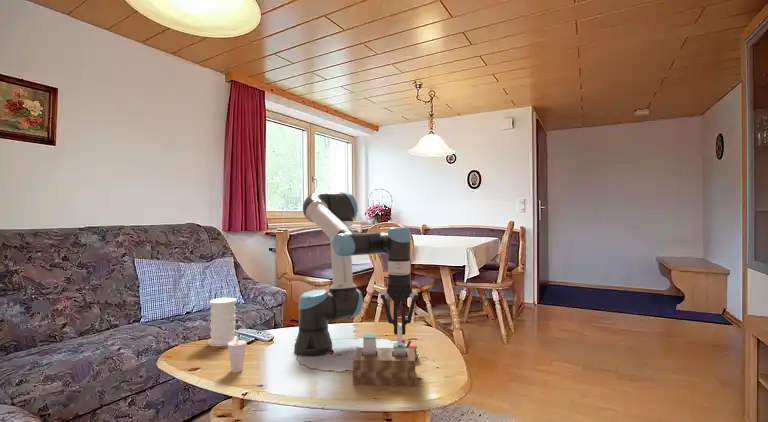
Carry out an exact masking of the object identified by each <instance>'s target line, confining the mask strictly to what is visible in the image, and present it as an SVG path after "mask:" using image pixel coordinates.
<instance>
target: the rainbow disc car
mask: <svg viewBox="0 0 768 422" xmlns="http://www.w3.org/2000/svg"><path fill="white" fill-rule="evenodd" d="M402 343H405V344H406V348H414V353H415V359H416V358H417V357H418V353H417V349H418V347H417V345H411V343H412V340H408V342H407V343H406V341H405V339H403V338H402Z"/></svg>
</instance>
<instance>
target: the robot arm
mask: <svg viewBox="0 0 768 422" xmlns="http://www.w3.org/2000/svg"><path fill="white" fill-rule="evenodd" d="M358 212H359V211H358V202H357V200H356V198H355V196H353V194H351V193H349V192H343V191H338V192H337V191H336V192H335V191H316V192H313V193H310V194H309V195H308V196H307V197H306V198H305V200H304V202H303V204H302V213H303V215H304V217H305V218H306V220H307V221H309V222H310V223H314V224H315V225H316V226H317V227H318V228H319V229H320V230H321V231H322V232H323V233H325V235H326V236H327V237H328V238H329V239H330V254H331V255H330V258H331V260H330V261H331V274H332V275H331V276H332V277H331V280H332V283H331V285H330V286H329V289H328V290H329V291H328V290H327V289H323V288H322V289H312V290H308V291H305V292H303V293H302V294H301V295H299V298H298V306H297V308H298V333H297V336H296V340H295V343H294V346H293V347H294V350H293V352H294V353H295V354H297V355H299V356H306V357H313V356H314V357H315V356H316V357H317V356H321V355H325V354H328V353H330V352H331V351H332V350H333V342H332V338H331V334H330V332H329V322H334V321H340V320H349V319H352V318H357V317H359V315H360V313H362V310H363V305H364V297H363V295H362V291H361V290H360V289H358V288H357V287H358V286H357V284H355V283H354V279H353V263H352V261H353V260H352V257H354V256H365V255H378V254H379V255H381V254H382V255H387V272H388V275H387V285H388V286H387V288H386V291H385V292H383V293H381V294H380V299H381V300H382V301H383V305H384V310H385V313H386V317H387V321H388V324H392V325H393V334H394V336H396V335H397V340H396V341H397V342H396V343H397V345H398V346H402V339H403V336H405V335H406V325H407V324H412V323H411V322H412V318H413V314H414V309H415V305H416V303H417V300H418V299H419V294H418V293H416V292H414V291H413V289H412V287H411V284H412V283H411V281H412V279H411V278H412V277H411V274H410V273H411V240H412V239H411V233H410V232H411V231H410V228H408V227H406V226H404V227H401V226H399V227H398V226H397V227H393V226H392V227H388V229H387V232H383V231H375V232H355V231H354V230H352V229H351V226H352V225H353V223H354V219H355V218H356V217H358V216H357V215H358ZM388 297H389V298H390V299H391V300H392V301H393V317H392V313H391V310H390V304H389V300H388ZM409 297H410V298H411V301H410V305H409V309H408V314H407V318H406V301H407V300H408V299H409ZM399 302H401V323H399V321H398V317H399V316H398V310H399V309H398V303H399Z"/></svg>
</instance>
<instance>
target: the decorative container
mask: <svg viewBox="0 0 768 422" xmlns="http://www.w3.org/2000/svg"><path fill="white" fill-rule="evenodd" d="M236 304H237V298H235V297H219V298H213V299H211V300H209V306H210V307H211V308H210V310H209V311H210V313H211V314H210V317H209V318H210V321H211V322H210V325H209V326H210V334H209V335H210V339H208V346H210V347H226V346H228V343H229V342H231V341H235V340H237V335H236V333H237V330H236V316H237V315H236V310H237V308H236Z"/></svg>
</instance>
